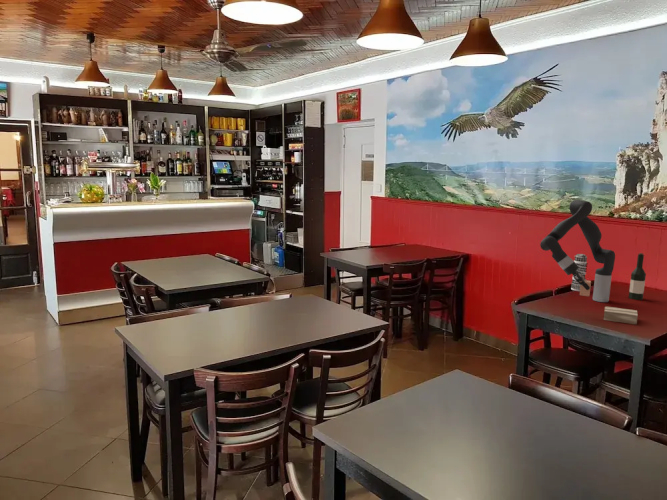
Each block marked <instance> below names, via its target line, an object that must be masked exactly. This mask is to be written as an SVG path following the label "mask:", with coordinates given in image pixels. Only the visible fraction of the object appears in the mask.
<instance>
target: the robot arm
mask: <svg viewBox="0 0 667 500" xmlns="http://www.w3.org/2000/svg"><path fill="white" fill-rule="evenodd" d="M568 207H569V211H570V214H571V215H572V216H570V217H568V218H565V219H564V220H562V221H560V222H559V223H558V224H556V226H555V227H554V228H553V229H552V230H551V231H550V232H549V233H548V234H547V235H546V236H545V237H543V239H542V240H541V241H540V244H539V246H540V248H541V250H543V251H551V253H552V254H551V258H553V260H554V261H555V262H556V263H557V264H558V266H559V267H560V268H561V270H563V272H564V273H565V274H566V275H567V276H570V275H572V278H573V277H574V279H575V280H576V281H577V282H578V283H579V284H580V285H583V287H584V288H585V289H586V290H589V289H590V290H591V287H589V286H588V285H587V284H586V282H585V281H584V280H587V279H586V277H585V278H584V276H583V275H582V274H581V273H580V272H578V271H577V269H578V268H579V266H578V265H577V264H576V263H575V262H574V260H573V259H572V258H571V257H570V256H569V255H568V254H567V253H566V252H565V251H564V250H563V248H562V246H561V244H560V243H559V241H560V240H562V239H563V237H565V235H567V233H568V232H569V231H570V230H571V229H573V228H574V227H575V226H576V225H578V226H579V229H580V230H581V232H582V234H583V236H584V237H585V240H586V242H587V243H588V246H589V248H590V251H591V253H592V256H593V259H594V261H595V262H597V264H599V263H600V264H603V266H602V267H600V268H596V269H595V275H594V281H593V282H594V283H593V290H592V291H593V293H592V300H593V301H595V302H599V303H608V302H609V300H610V294H611V285H612V284H611V283H612V274H613V271H614V267H615V260H616V253H615V252H614V250H611V249H607V248H602V246H601V245H600V243H601V239H602V232H601V230H600V228H599V226H598V225H597V224H596V223H595V221H593V220H592V219H591V218H589V217H588V216H589V215H590V214H591V213H592V210H593V205H592V203H591V201H587V200H580V199H574V200H572V201H571V202H570V203H569V206H568ZM581 281H582V282H581Z"/></svg>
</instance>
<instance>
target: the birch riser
mask: <svg viewBox="0 0 667 500" xmlns="http://www.w3.org/2000/svg"><path fill="white" fill-rule="evenodd" d="M638 318H639V317H638V310H637V309H636V310H635V309H628V308H620V307H615V306H614V307H613V306H604V314H603V321H610V322H616V323H624V324H630V325H637V323H638Z"/></svg>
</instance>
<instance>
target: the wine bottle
mask: <svg viewBox="0 0 667 500" xmlns="http://www.w3.org/2000/svg"><path fill="white" fill-rule="evenodd" d="M644 257H645V254H644V253H642V252H638V254H637V259H636V260H637V261H636V267H635V268H634V269H633V271H631V274H630V283H629V290H628V298H629V299H631V300H634V299H635V300H636V301H642V300H643V299H644V292H645V284H646V275H647V274H646V271H645V270H644V268H643V266H644ZM635 300H634V301H635Z"/></svg>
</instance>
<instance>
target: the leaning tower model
mask: <svg viewBox="0 0 667 500" xmlns="http://www.w3.org/2000/svg"><path fill="white" fill-rule="evenodd" d="M573 261H574V262H575V263H576V264H577V265H578V266H579V268H578V269H577V271H578V272H580V273H581V274H582V275H583V276H584V278H586V275H587V270H588V269H587V267H588V262H587V261H588V256H587V255H586V254H584V253H576V255H574V260H573ZM570 289H571V290H572V291H576V292H580V284H579V283H578V282H577V281H576V280H575V279H574V277H573V276H572V279H571V285H570Z"/></svg>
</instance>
